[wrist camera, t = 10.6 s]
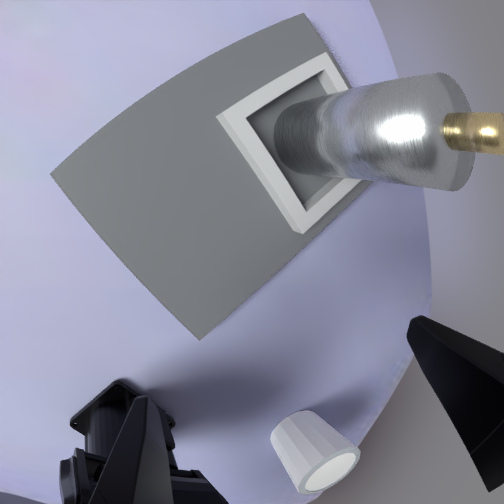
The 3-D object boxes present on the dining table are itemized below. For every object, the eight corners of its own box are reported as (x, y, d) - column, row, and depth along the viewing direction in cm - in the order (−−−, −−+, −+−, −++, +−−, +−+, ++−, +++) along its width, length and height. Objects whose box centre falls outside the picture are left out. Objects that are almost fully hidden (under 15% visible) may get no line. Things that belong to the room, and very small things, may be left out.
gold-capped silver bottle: (325, 184, 21) (512, 217, 9) (264, 160, 19) (473, 168, 7) (342, 120, 20) (522, 113, 9) (285, 90, 18) (479, 41, 6)
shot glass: (255, 430, 26) (290, 481, 20) (315, 394, 28) (358, 436, 22) (275, 459, 29) (307, 503, 23) (327, 427, 31) (363, 465, 24)
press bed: (194, 330, 21) (204, 349, 19) (55, 174, 15) (44, 173, 13) (377, 164, 25) (400, 165, 22) (293, 20, 19) (312, 6, 16)
